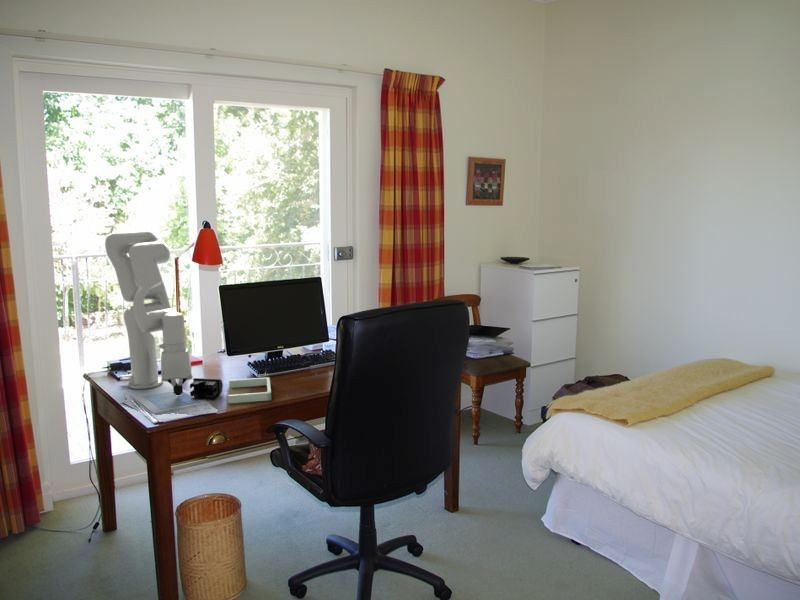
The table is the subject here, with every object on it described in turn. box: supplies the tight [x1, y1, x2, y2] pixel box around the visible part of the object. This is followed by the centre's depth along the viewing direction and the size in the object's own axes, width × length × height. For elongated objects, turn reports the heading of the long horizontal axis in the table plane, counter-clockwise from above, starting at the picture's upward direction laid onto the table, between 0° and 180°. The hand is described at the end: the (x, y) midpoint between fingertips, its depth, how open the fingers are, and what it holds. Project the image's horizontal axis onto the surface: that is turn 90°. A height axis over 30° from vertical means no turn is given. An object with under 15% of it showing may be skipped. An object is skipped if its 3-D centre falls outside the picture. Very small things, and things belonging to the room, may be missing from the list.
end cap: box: [189, 377, 224, 402], centre depth 240 cm, size 10×7×7 cm
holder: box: [227, 376, 272, 404], centre depth 244 cm, size 15×18×3 cm
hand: (178, 395), depth 239 cm, fingers closed
